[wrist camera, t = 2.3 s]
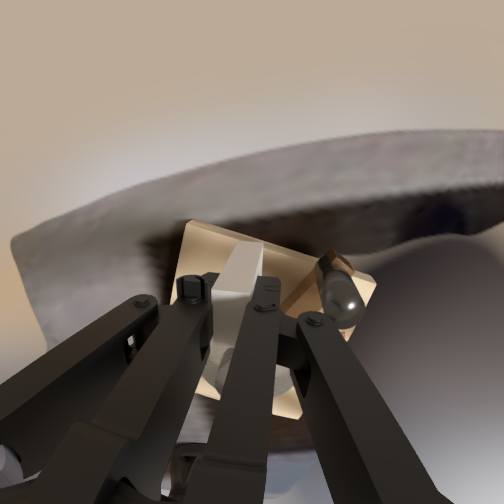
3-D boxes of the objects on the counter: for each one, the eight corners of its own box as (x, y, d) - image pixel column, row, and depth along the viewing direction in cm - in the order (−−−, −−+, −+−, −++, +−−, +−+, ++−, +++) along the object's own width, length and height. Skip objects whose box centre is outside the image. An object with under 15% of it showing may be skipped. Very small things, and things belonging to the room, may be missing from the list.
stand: (297, 408, 33) (298, 420, 31) (164, 369, 33) (158, 380, 31) (370, 275, 26) (377, 285, 24) (193, 218, 26) (185, 223, 24)
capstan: (261, 393, 29) (253, 449, 22) (186, 347, 28) (159, 400, 21) (377, 285, 24) (408, 333, 16) (293, 215, 23) (298, 243, 15)
